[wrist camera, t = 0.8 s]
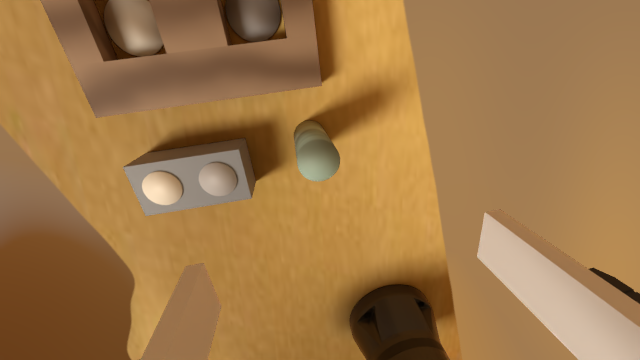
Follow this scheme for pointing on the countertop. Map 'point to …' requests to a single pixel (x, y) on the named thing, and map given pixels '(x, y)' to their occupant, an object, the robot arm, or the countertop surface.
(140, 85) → the board
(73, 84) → the countertop surface
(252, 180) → the block
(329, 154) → the pin
